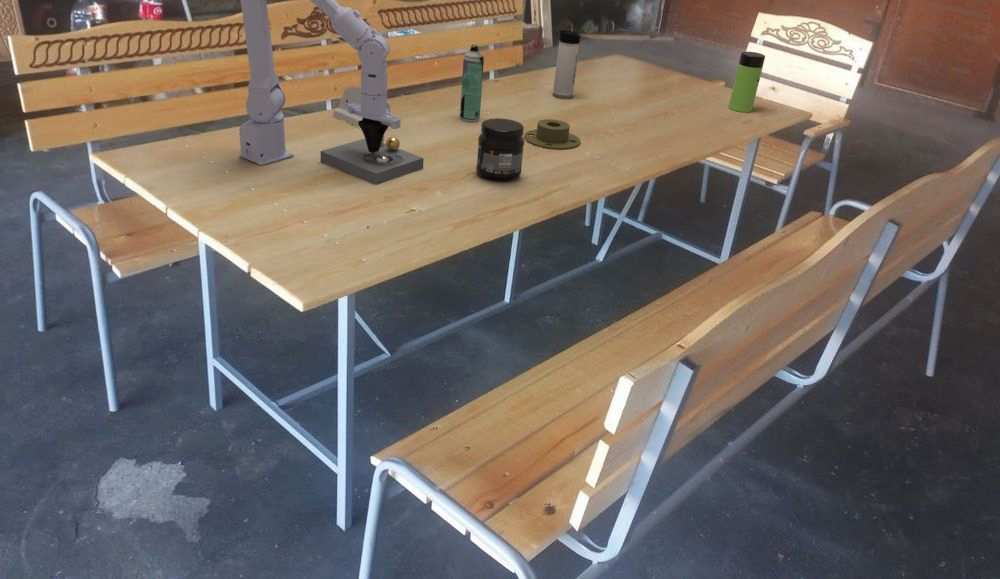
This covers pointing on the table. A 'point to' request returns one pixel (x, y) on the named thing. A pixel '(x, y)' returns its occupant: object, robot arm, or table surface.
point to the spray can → (471, 85)
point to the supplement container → (500, 150)
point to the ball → (382, 159)
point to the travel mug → (566, 64)
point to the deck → (371, 161)
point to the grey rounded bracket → (349, 97)
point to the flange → (552, 135)
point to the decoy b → (392, 143)
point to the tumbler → (746, 81)
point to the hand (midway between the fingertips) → (373, 151)
